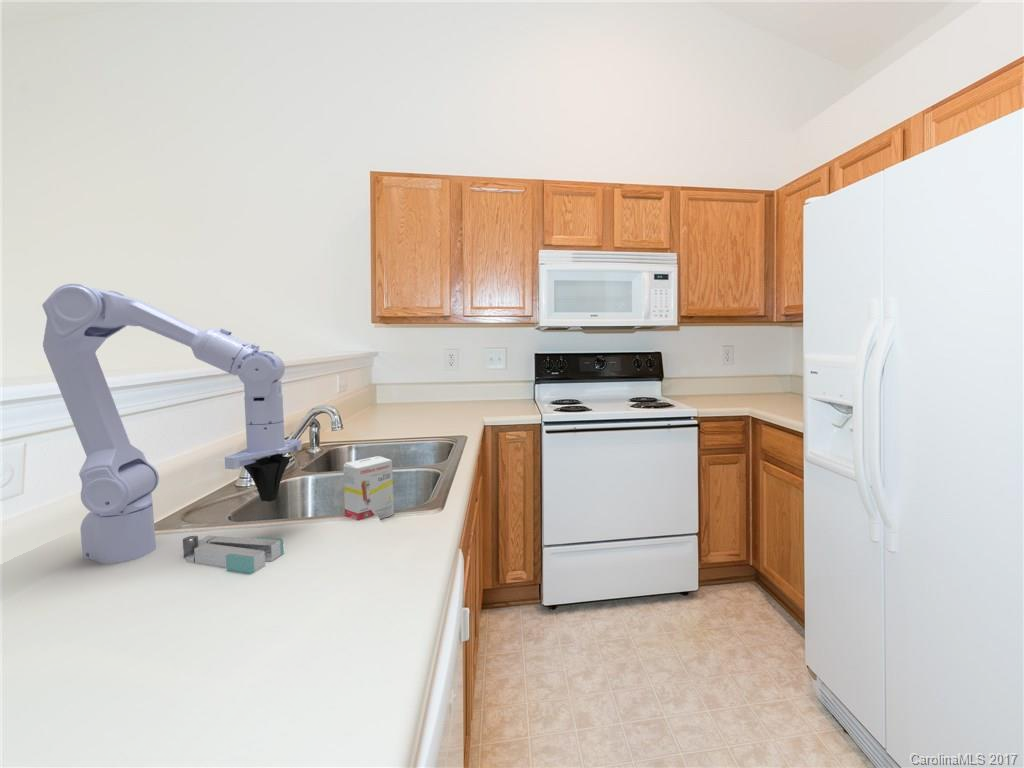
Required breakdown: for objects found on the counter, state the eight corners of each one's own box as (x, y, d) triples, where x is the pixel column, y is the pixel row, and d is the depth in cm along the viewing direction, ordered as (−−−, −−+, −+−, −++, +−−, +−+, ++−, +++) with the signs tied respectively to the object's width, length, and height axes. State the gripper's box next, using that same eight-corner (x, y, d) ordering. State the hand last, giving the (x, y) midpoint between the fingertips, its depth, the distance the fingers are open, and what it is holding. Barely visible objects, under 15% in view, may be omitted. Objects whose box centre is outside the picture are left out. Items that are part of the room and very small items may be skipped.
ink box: (358, 528, 86) (355, 467, 85) (344, 522, 89) (341, 463, 88) (395, 515, 92) (393, 458, 92) (381, 510, 96) (378, 455, 95)
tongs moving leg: (198, 555, 72) (197, 540, 72) (212, 548, 74) (211, 533, 74) (271, 561, 70) (271, 545, 69) (283, 553, 72) (282, 538, 72)
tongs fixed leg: (170, 563, 70) (168, 544, 70) (192, 552, 73) (191, 535, 73) (250, 575, 66) (249, 555, 65) (270, 563, 69) (269, 544, 69)
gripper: (248, 430, 69) (252, 517, 70) (314, 416, 83) (317, 489, 84) (212, 428, 71) (217, 512, 72) (282, 415, 85) (285, 486, 86)
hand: (268, 500), depth 78 cm, fingers closed
